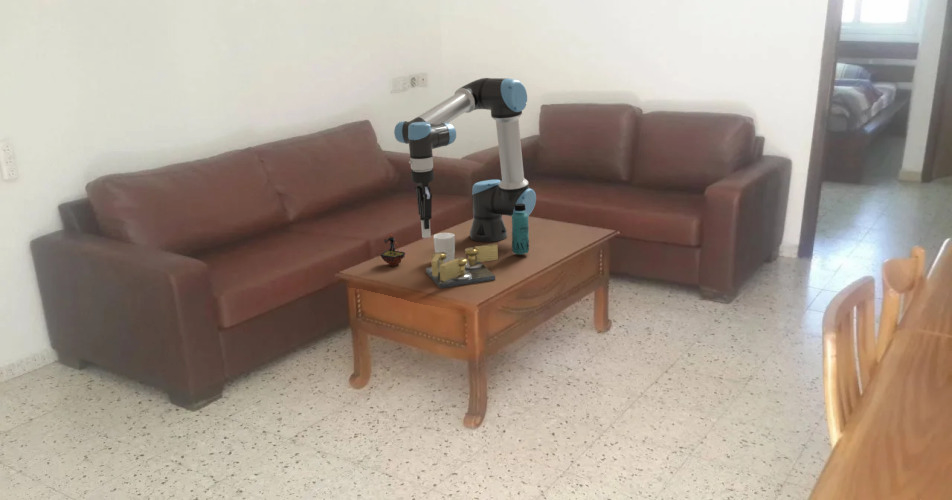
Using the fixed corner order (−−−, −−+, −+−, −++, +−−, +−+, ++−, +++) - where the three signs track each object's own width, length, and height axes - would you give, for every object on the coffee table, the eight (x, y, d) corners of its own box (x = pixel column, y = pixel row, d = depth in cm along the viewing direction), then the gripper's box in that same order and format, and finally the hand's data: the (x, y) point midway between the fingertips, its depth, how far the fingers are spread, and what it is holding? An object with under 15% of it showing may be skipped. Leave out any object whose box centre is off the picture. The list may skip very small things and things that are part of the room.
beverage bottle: (508, 256, 298) (507, 204, 292) (519, 251, 303) (518, 201, 296) (521, 259, 294) (520, 207, 288) (533, 254, 298) (532, 203, 292)
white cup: (446, 256, 301) (444, 231, 298) (460, 260, 295) (459, 235, 292) (430, 261, 295) (429, 236, 292) (444, 266, 290) (443, 240, 287)
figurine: (410, 263, 294) (408, 232, 290) (397, 270, 288) (395, 238, 284) (389, 260, 299) (387, 229, 295) (376, 266, 293) (373, 235, 289)
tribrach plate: (478, 264, 290) (478, 255, 289) (495, 279, 274) (495, 270, 273) (426, 272, 284) (425, 263, 283) (440, 288, 268) (439, 279, 267)
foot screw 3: (468, 266, 281) (467, 250, 279) (463, 262, 285) (463, 247, 283) (499, 262, 284) (498, 246, 283) (494, 258, 289) (494, 242, 287)
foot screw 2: (460, 271, 277) (460, 254, 275) (471, 273, 274) (470, 257, 272) (437, 280, 268) (436, 264, 266) (447, 283, 265) (446, 266, 263)
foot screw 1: (434, 266, 283) (433, 250, 281) (448, 266, 282) (447, 250, 280) (428, 277, 272) (427, 261, 270) (442, 277, 271) (441, 261, 269)
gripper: (406, 167, 267) (411, 233, 275) (416, 174, 256) (420, 243, 263) (427, 164, 270) (431, 230, 277) (438, 172, 258) (442, 240, 265)
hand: (426, 237), depth 270 cm, fingers closed
